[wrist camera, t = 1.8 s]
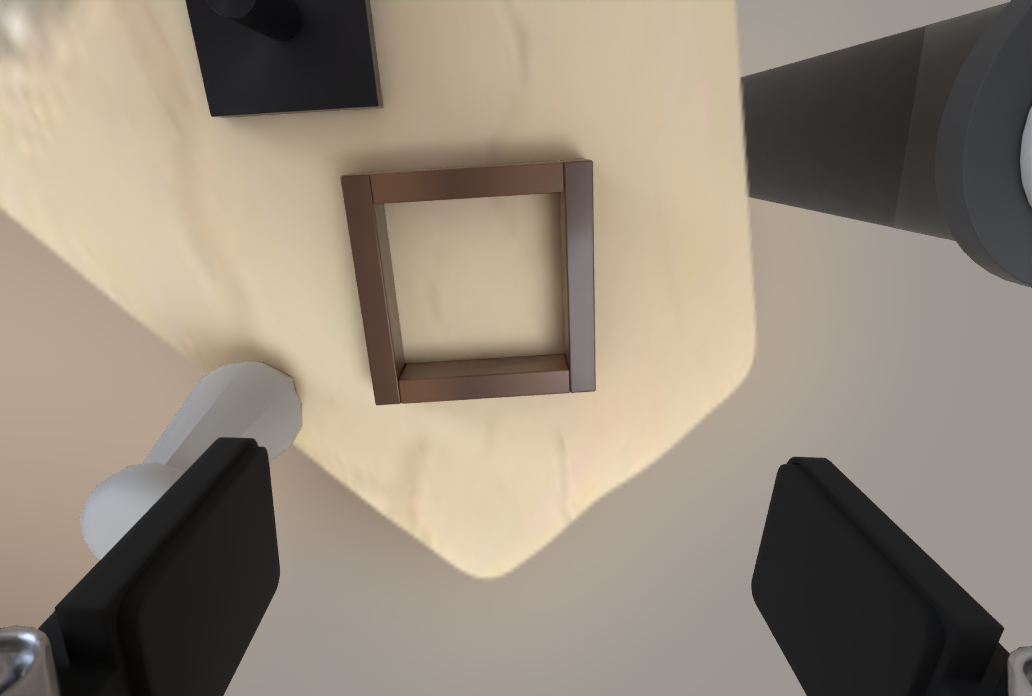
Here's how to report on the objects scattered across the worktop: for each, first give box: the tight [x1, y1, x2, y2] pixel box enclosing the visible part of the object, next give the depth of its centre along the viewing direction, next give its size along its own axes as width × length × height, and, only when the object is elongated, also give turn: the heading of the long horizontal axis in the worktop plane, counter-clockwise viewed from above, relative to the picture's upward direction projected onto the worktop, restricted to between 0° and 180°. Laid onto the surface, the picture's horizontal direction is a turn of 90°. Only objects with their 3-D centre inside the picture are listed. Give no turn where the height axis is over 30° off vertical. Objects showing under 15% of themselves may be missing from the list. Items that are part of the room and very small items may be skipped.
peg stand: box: [186, 0, 383, 118], centre depth 24 cm, size 8×8×6 cm
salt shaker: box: [80, 361, 302, 560], centre depth 27 cm, size 6×6×13 cm
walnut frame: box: [341, 159, 596, 405], centre depth 30 cm, size 12×12×2 cm
